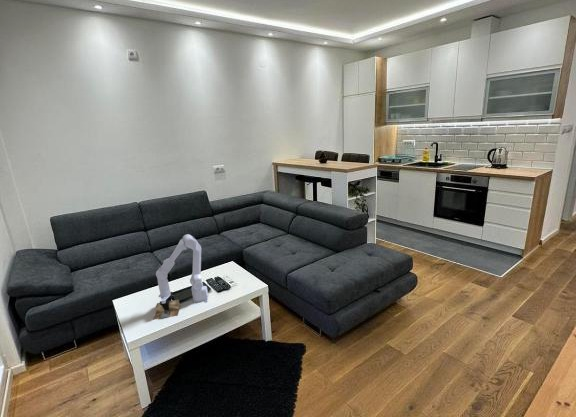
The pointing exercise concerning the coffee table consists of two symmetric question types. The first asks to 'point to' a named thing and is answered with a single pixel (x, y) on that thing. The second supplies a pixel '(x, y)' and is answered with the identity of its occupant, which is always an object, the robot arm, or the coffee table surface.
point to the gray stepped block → (165, 314)
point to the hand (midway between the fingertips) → (168, 307)
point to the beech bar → (172, 306)
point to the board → (173, 313)
